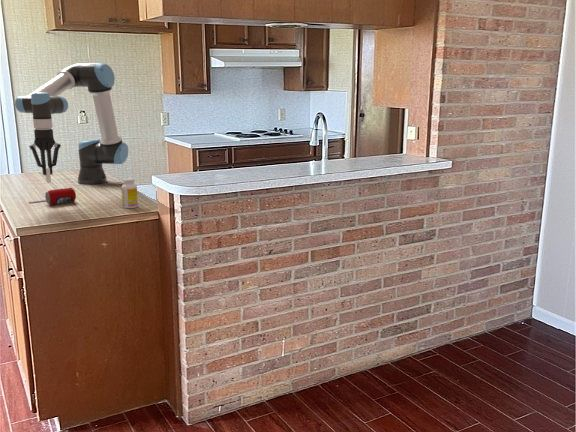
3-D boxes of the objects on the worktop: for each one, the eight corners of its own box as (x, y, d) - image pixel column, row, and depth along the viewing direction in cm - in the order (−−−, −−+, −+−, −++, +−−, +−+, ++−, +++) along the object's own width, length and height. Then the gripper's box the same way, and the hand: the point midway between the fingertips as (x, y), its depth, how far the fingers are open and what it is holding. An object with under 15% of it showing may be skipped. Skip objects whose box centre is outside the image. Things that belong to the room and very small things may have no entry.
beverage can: (73, 203, 259) (46, 206, 252) (70, 189, 260) (43, 192, 252) (77, 200, 254) (50, 203, 247) (74, 185, 254) (47, 189, 247)
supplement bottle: (141, 206, 250) (139, 178, 247) (132, 209, 244) (130, 180, 241) (128, 204, 252) (126, 177, 249) (119, 208, 246) (117, 179, 243)
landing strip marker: (68, 198, 265) (68, 197, 265) (69, 198, 264) (69, 198, 264) (28, 202, 255) (28, 202, 255) (29, 203, 253) (29, 202, 253)
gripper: (56, 127, 247) (61, 179, 253) (25, 128, 239) (30, 182, 245) (61, 128, 241) (66, 181, 247) (29, 130, 233) (35, 184, 239)
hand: (48, 182), depth 246 cm, fingers closed
